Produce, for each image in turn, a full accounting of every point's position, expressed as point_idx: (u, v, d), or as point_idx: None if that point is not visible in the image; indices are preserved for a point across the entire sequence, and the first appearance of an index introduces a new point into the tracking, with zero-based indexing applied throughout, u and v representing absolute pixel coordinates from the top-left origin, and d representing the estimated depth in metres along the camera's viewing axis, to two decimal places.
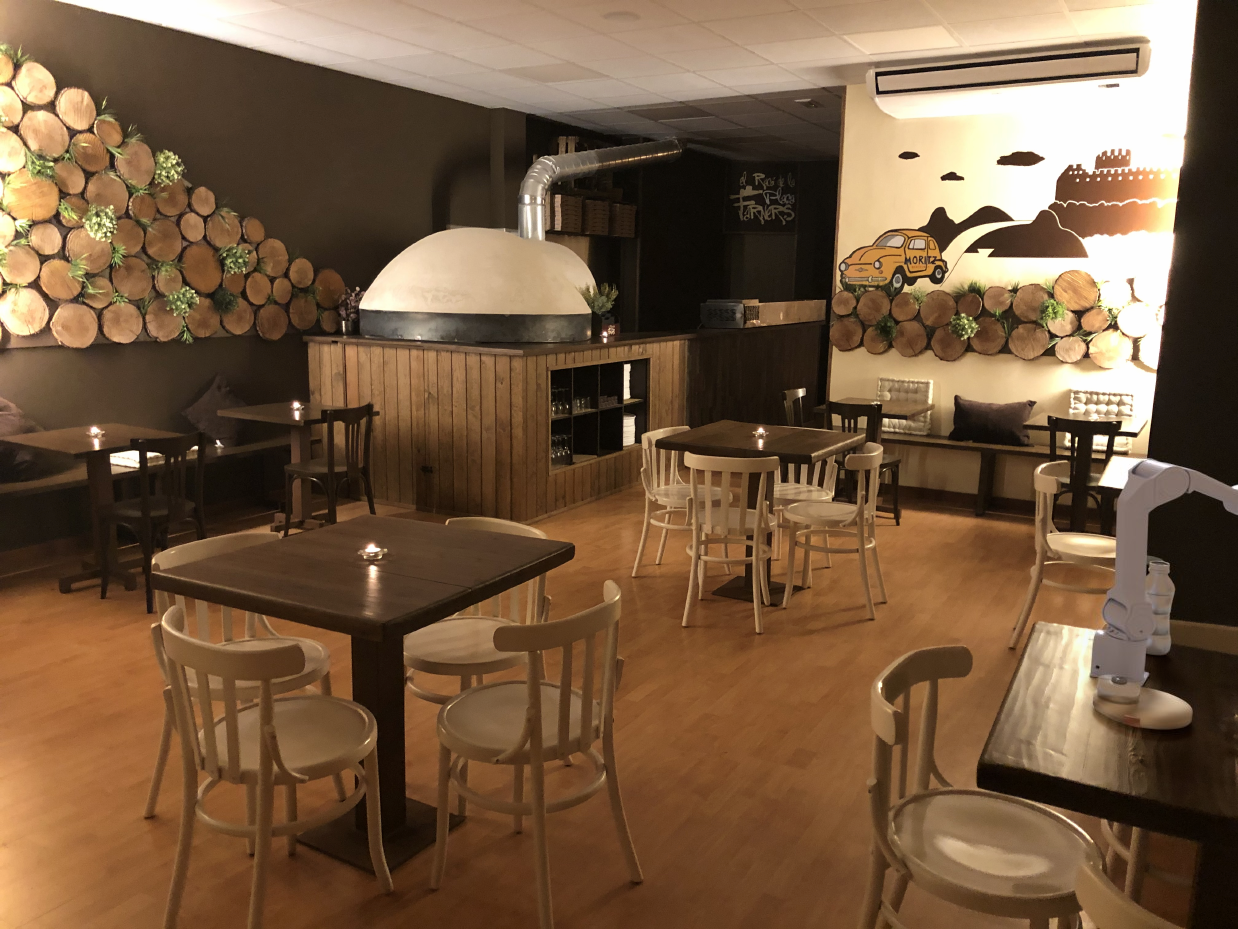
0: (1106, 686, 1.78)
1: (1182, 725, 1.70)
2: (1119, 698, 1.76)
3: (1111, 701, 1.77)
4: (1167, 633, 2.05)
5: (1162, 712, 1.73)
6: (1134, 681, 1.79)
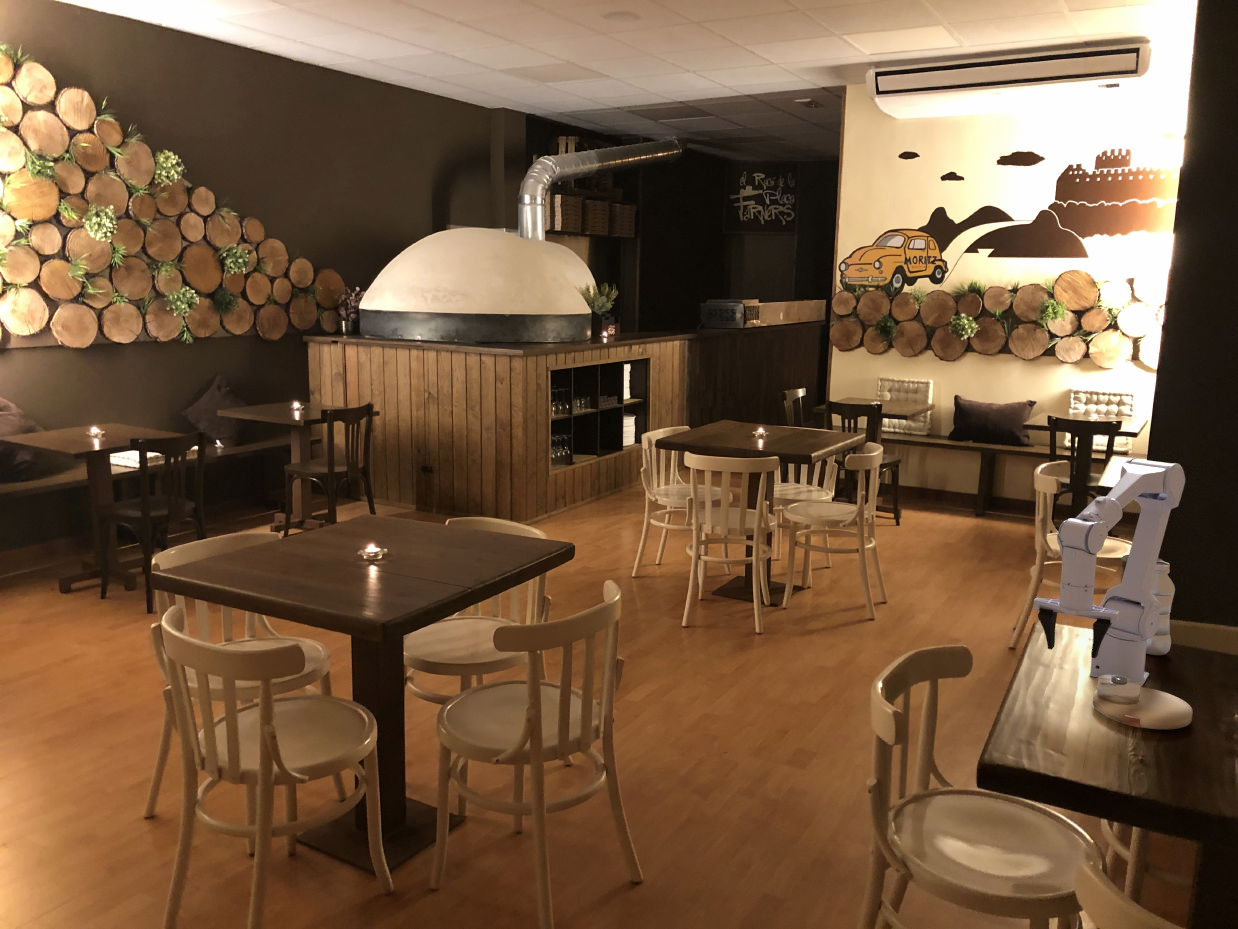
0: (1106, 686, 1.78)
1: (1182, 725, 1.70)
2: (1119, 698, 1.76)
3: (1111, 701, 1.77)
4: (1167, 633, 2.05)
5: (1162, 712, 1.73)
6: (1134, 681, 1.79)
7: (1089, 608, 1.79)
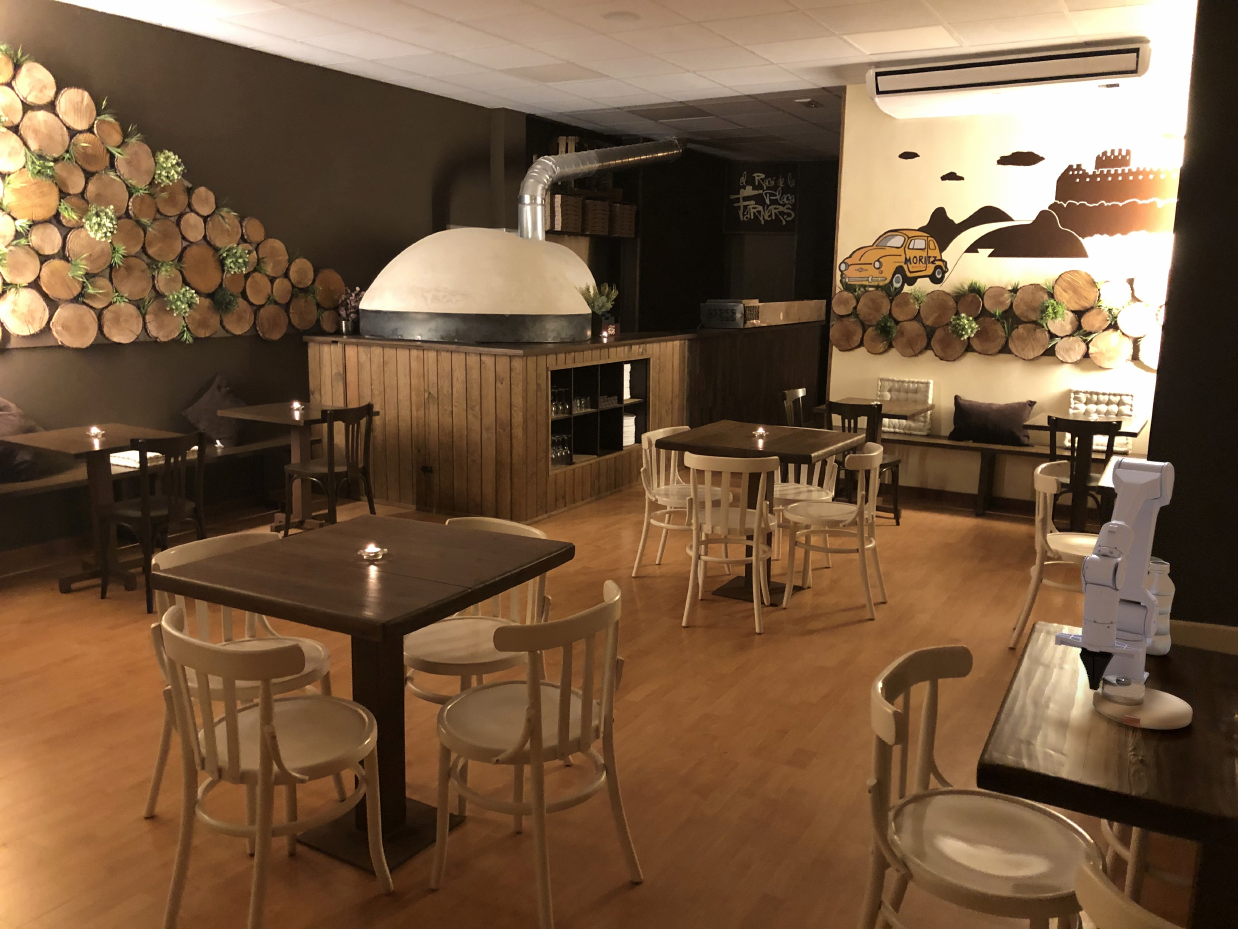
0: (1110, 687, 1.77)
1: (1182, 725, 1.70)
2: (1123, 699, 1.76)
3: (1115, 702, 1.77)
4: (1167, 633, 2.05)
5: (1162, 712, 1.73)
6: (1139, 682, 1.79)
7: (1111, 645, 1.78)
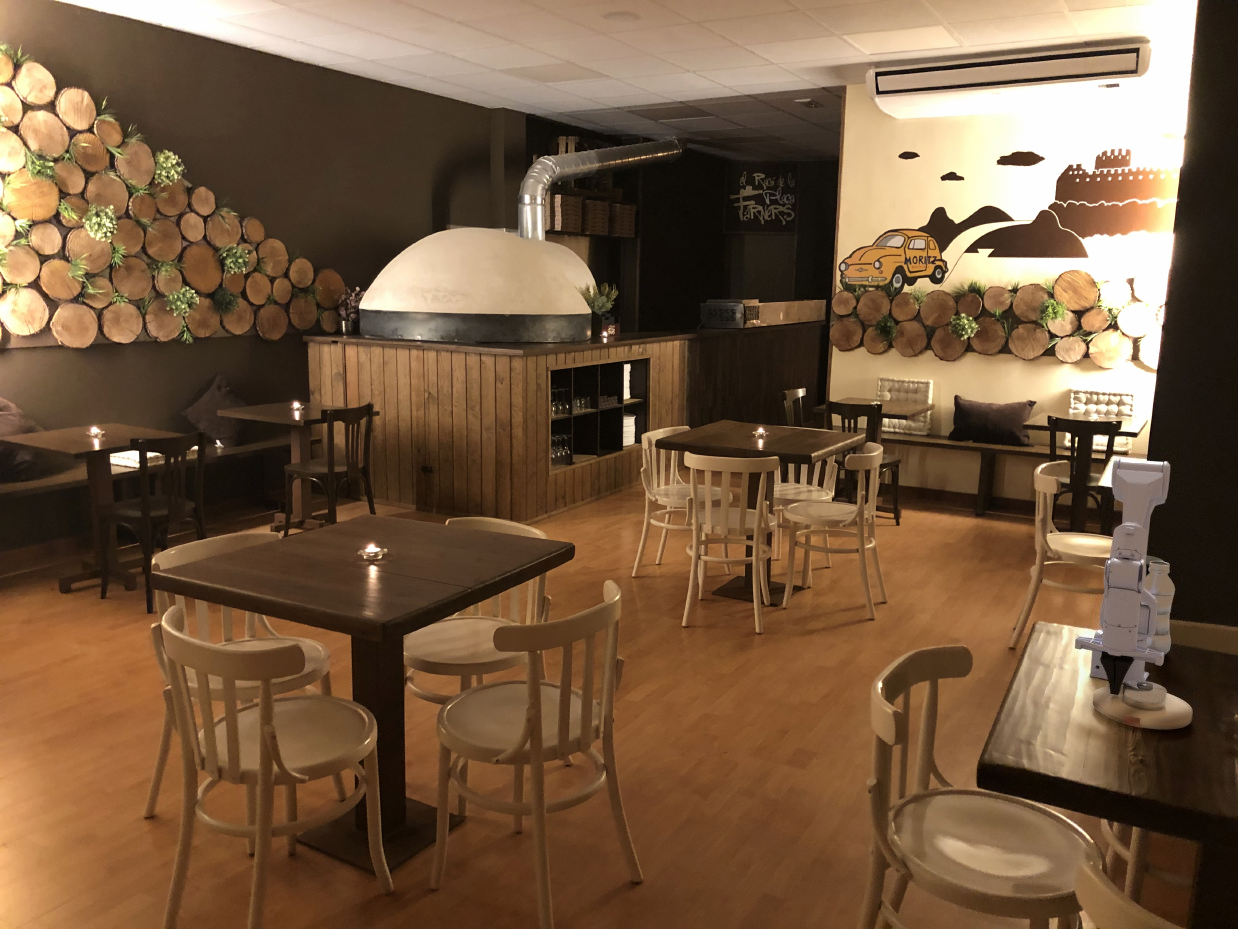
0: (1131, 692, 1.75)
1: (1182, 725, 1.70)
2: (1144, 704, 1.74)
3: (1136, 707, 1.75)
4: (1167, 633, 2.05)
5: (1162, 712, 1.73)
6: (1160, 687, 1.76)
7: (1133, 649, 1.76)
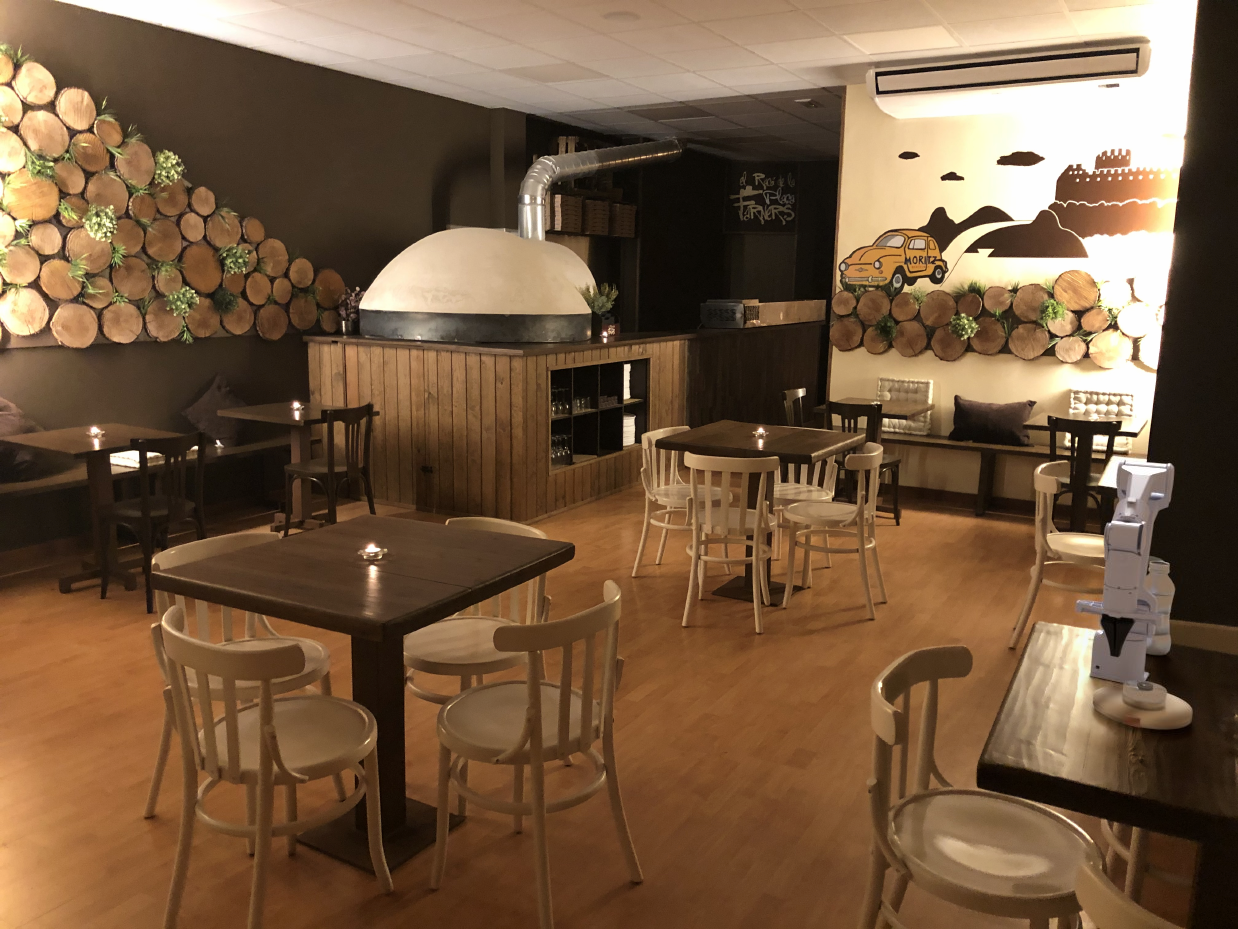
0: (1131, 692, 1.75)
1: (1182, 725, 1.70)
2: (1144, 704, 1.74)
3: (1136, 707, 1.75)
4: (1167, 633, 2.05)
5: (1162, 712, 1.73)
6: (1161, 687, 1.76)
7: (1133, 611, 1.78)
